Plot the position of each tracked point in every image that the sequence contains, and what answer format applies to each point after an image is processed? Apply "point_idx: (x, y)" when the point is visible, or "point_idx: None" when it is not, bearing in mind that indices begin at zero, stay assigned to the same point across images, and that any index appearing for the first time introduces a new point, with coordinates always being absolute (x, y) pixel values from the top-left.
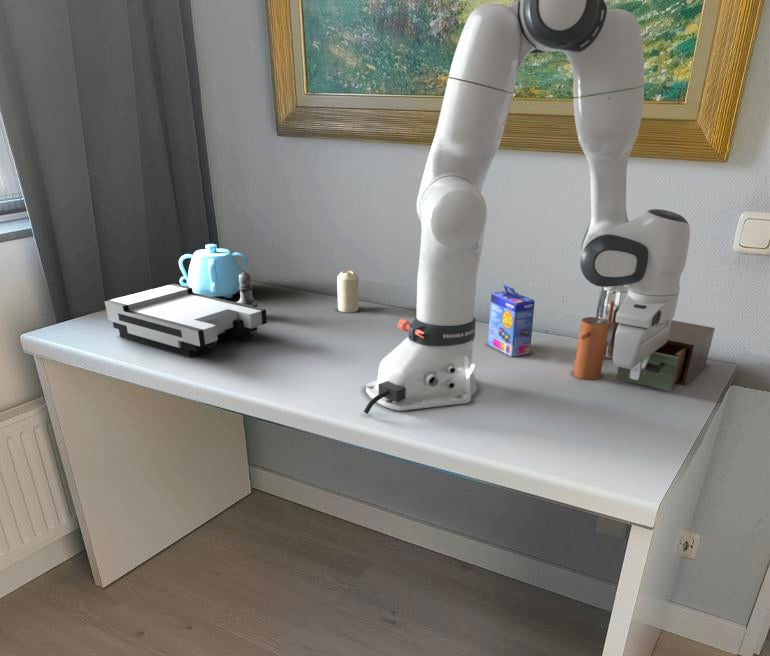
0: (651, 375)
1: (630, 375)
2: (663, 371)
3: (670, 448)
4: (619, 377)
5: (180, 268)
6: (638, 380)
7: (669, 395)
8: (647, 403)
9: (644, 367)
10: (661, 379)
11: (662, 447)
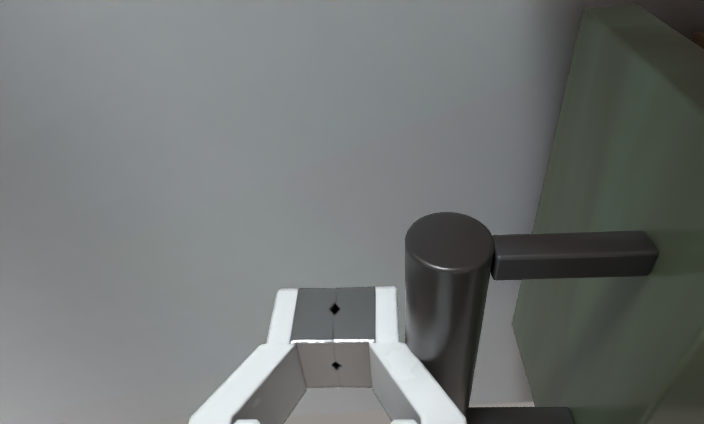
0: (550, 295)
1: (274, 304)
2: (552, 380)
3: (33, 411)
4: (579, 43)
5: None
6: (551, 191)
7: (506, 303)
8: (328, 272)
9: (376, 394)
10: (536, 329)
11: (12, 400)
